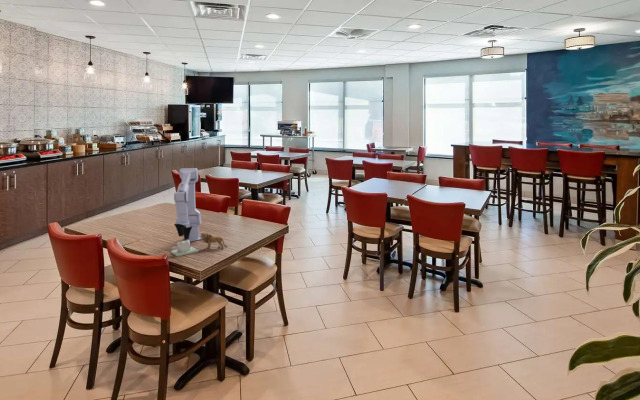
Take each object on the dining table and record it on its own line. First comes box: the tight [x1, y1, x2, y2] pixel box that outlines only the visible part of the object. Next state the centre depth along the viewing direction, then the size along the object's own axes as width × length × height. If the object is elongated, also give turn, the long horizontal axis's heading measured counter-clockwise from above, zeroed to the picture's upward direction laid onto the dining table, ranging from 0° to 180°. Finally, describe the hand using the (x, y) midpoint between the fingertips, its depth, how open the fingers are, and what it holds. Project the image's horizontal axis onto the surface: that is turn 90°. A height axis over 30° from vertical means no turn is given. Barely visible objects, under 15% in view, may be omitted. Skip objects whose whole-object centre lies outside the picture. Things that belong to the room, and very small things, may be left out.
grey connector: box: [171, 240, 191, 252], centre depth 219 cm, size 3×9×5 cm, turn 131°
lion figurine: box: [200, 232, 228, 250], centre depth 228 cm, size 15×5×9 cm, turn 93°
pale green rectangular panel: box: [170, 245, 200, 258], centre depth 221 cm, size 9×12×1 cm
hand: (183, 237), depth 219 cm, fingers open, 7 cm apart
